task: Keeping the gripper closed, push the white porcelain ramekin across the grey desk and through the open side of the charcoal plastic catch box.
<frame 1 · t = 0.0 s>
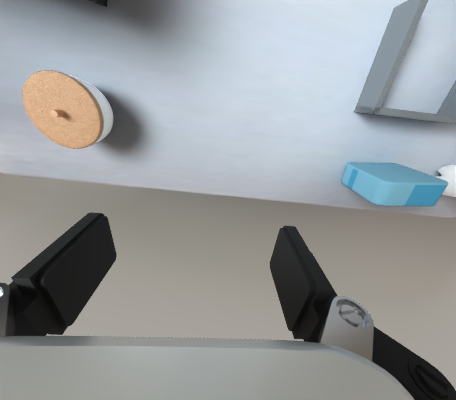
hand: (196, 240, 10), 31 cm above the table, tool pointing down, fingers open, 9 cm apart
lidded jar: (94, 110, 35), on the table
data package: (365, 171, 42), on the table
water bottle: (440, 175, 44), on the table
catch box: (419, 68, 33), on the table
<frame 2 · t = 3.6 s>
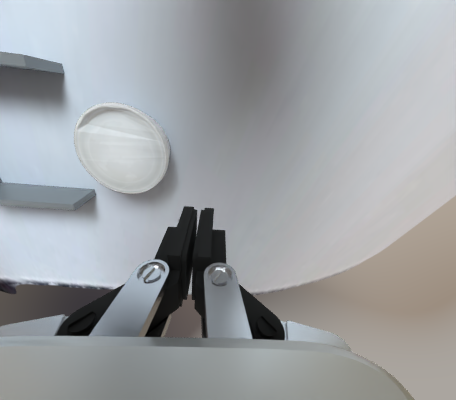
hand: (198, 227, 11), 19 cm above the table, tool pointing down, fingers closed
ramekin: (139, 144, 28), on the table
catch box: (29, 134, 26), on the table
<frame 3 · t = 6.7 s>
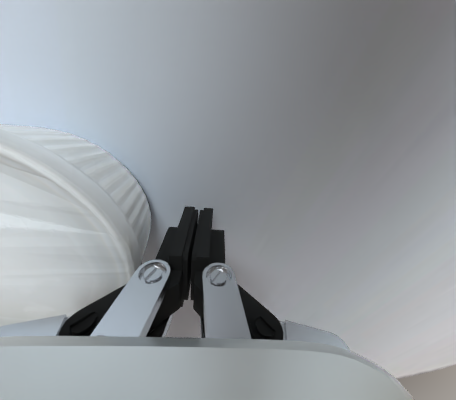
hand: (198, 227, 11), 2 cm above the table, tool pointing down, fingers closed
ramekin: (82, 201, 12), on the table, touching gripper
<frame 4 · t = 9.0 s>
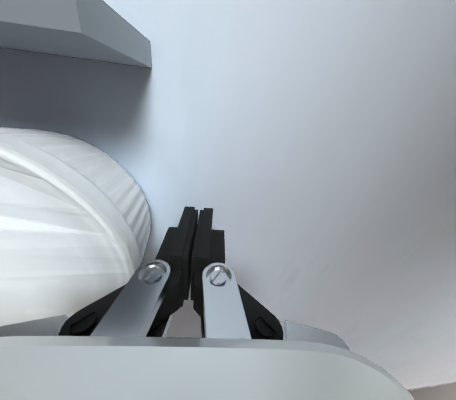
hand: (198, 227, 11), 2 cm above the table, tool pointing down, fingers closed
ramekin: (82, 203, 12), on the table, touching gripper
catch box: (51, 201, 12), on the table
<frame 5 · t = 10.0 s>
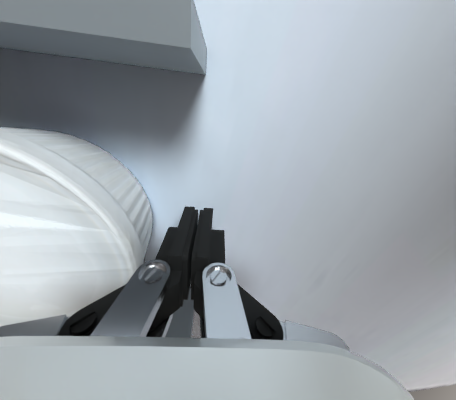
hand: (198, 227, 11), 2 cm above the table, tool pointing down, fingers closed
ramekin: (84, 202, 12), on the table, touching gripper
catch box: (94, 204, 12), on the table
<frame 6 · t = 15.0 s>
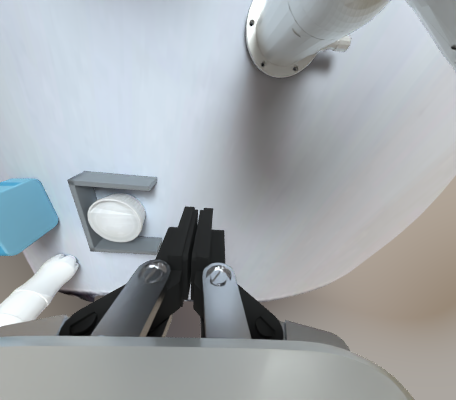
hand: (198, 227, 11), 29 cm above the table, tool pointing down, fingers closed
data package: (41, 200, 42), on the table
ramekin: (126, 209, 44), on the table
water bottle: (68, 259, 51), on the table
catch box: (129, 209, 44), on the table
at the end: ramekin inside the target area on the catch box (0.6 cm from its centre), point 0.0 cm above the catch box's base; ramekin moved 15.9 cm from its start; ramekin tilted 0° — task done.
